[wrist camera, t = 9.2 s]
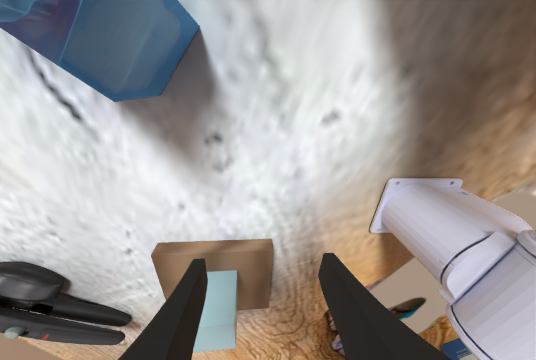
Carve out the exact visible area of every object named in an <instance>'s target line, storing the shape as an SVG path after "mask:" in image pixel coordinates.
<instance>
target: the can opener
mask: <svg viewBox="0 0 536 360" xmlns="http://www.w3.org/2000/svg"><path fill="white" fill-rule="evenodd" d="M63 283H64V280H63V278H62V277H61V276H60V275H58V274H57V273H55V272H53V271H51V270H48V269H45V268H43V267H40V266H36V265H32V264H27V263H20V262H0V332H1V333H4V336H5V337H6V338H8V339H16V338H17V337H18V336H22V337H27V338H34V339H38V340H46V341H54V342H63V343H74V344H88V345H116V344H118V343H120V342H122V341H123V340H124V338H125V334H124V333H123V332H121V331H117V330H112V329H107V328H101V327H97V326H92V325H87V324H83V323H78V322H74V321H69V320H65V319H70V320H76V321H82V322H88V323H95V324H102V325H109V326H117V327H121V326H125V325H127V324H128V323H129V322H130V321H131V316H130V315H128V314H126V313H124V312H121V311H118V310H115V309H112V308H108V307H104V306H99V305H94V304H88V303H81V302H76V301H71V300H66V299H63V298H60V297H57V296H55V295H57V294H58V293H59V291H60V289H61V287H62V285H63ZM13 307H14V308H13ZM17 308H18V309H17ZM20 309H22V310H20ZM24 310H27V311H24ZM30 311H32V312H30ZM33 312H37V313H41V314H37V313H33ZM43 314H45V315H43ZM51 316H53V317H51ZM56 317H58V318H56ZM60 318H64V319H60Z"/></svg>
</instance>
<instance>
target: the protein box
mask: <svg viewBox="0 0 536 360" xmlns="http://www.w3.org/2000/svg"><path fill="white" fill-rule="evenodd" d="M440 348H441V349H442V351H443V352H444V353H445V355H446V356H447V357H449V358H450V359H452V360H479V359H477V358H476V357H475V356H474V355H473V354H472V352H471V351H470V350H469V349H468V348H467V347H466V346H465V345H464V343H463V342H462V341H461V339H460V338H458V339H456V340H454V341H451V342H449V343H446V344H444V345H442V346H440Z"/></svg>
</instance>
